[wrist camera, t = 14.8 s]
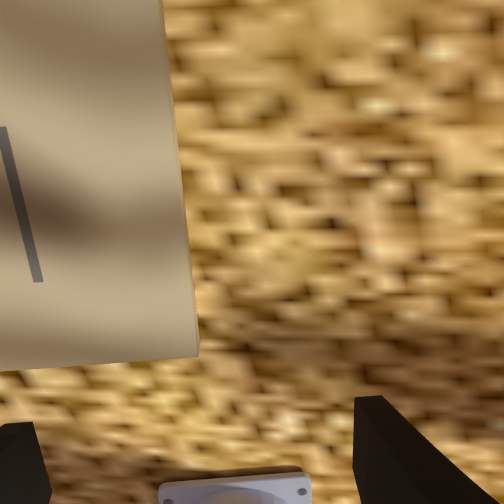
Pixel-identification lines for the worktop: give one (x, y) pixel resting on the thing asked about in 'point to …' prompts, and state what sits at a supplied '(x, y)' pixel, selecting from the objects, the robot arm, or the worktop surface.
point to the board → (90, 188)
